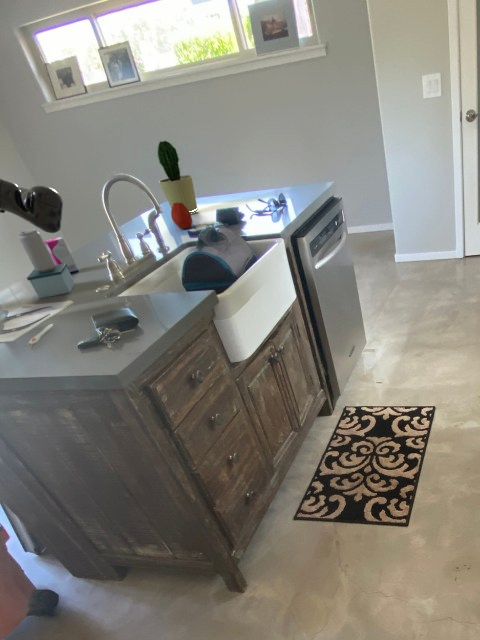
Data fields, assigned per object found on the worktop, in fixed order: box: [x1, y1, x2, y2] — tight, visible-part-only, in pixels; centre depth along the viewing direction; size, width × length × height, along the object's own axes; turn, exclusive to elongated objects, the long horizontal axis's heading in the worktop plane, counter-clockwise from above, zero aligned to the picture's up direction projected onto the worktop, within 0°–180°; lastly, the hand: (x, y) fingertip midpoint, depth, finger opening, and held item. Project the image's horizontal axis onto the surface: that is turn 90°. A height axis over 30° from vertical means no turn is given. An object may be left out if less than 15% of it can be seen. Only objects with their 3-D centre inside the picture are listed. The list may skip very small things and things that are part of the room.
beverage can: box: [17, 228, 56, 273], centre depth 169 cm, size 6×6×12 cm
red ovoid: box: [170, 201, 193, 230], centre depth 225 cm, size 8×8×11 cm
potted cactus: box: [155, 139, 199, 214], centre depth 244 cm, size 15×15×30 cm
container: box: [26, 263, 76, 299], centre depth 176 cm, size 11×11×7 cm
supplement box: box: [43, 236, 80, 275], centre depth 191 cm, size 6×6×12 cm
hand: (14, 199), depth 155 cm, fingers open, 8 cm apart
